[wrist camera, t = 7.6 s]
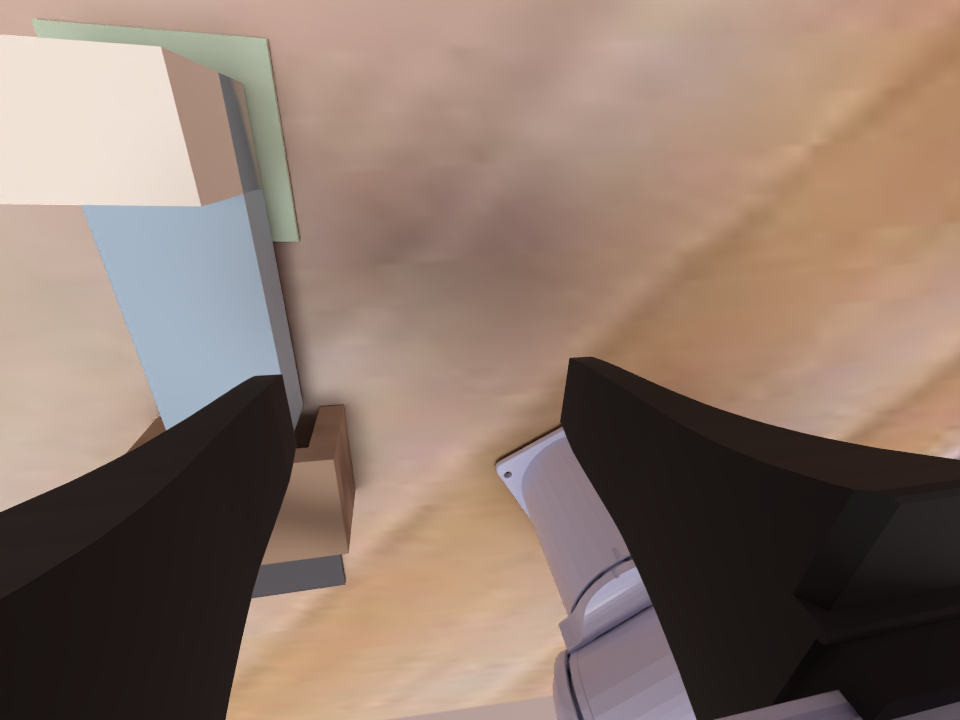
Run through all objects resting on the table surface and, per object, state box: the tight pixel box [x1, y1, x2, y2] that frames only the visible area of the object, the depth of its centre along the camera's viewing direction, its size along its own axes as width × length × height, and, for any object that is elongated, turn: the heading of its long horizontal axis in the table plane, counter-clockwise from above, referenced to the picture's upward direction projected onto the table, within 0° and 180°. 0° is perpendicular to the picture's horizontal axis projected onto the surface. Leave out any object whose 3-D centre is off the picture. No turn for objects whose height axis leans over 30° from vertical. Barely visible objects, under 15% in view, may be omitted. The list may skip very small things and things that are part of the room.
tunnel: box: [127, 405, 355, 565], centre depth 20 cm, size 6×9×4 cm
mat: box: [31, 19, 300, 242], centre depth 16 cm, size 7×7×1 cm
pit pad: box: [251, 554, 346, 598], centre depth 26 cm, size 6×6×1 cm
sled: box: [0, 35, 303, 431], centre depth 15 cm, size 14×5×6 cm, turn 178°
